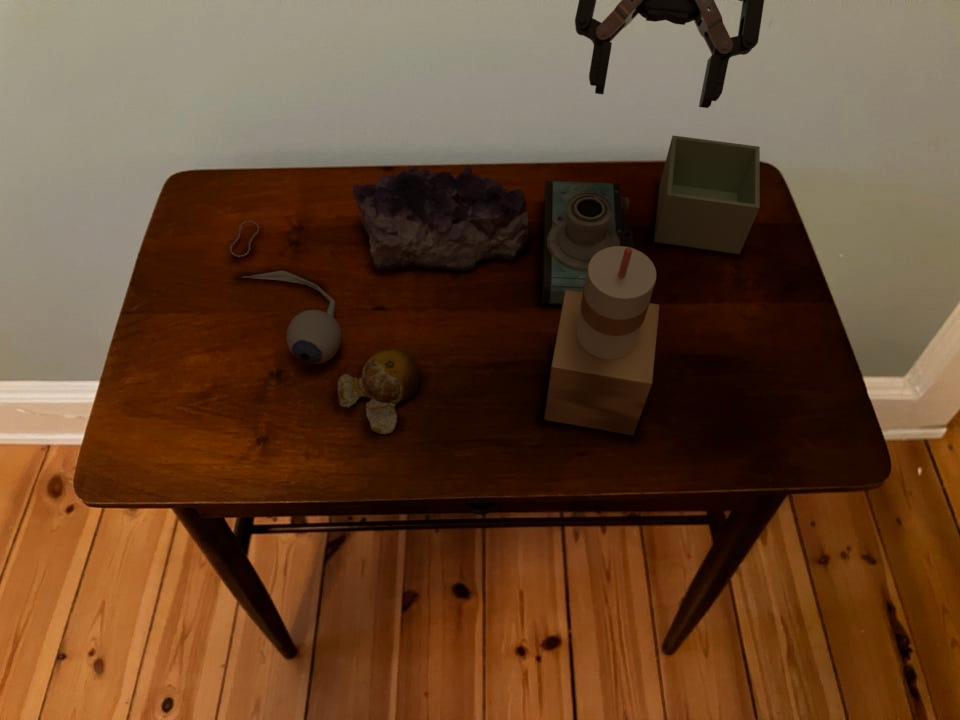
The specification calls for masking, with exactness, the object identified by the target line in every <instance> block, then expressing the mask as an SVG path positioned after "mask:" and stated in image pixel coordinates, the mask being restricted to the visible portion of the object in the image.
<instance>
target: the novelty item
mask: <svg viewBox="0 0 960 720" xmlns="http://www.w3.org/2000/svg"><path fill="white" fill-rule="evenodd" d="M241 278H242V279H256V280H269V281H270V280H271V281H281V282H285V283H286V282H287V283H294V284H301V285H304V286H307V287H309V288H312V289H314V290H315V291H318V292H319V293H320V294H321V296H323V297H324V298H325V299H327V301H328V302H329V304H328V307H327V310H326V311H323V310H319V309H306V310H303V311H301V312H300V313H298V314H296V315H295V316H294V318H293V319H292V320H291V321H290V323H289V324H288V327H287V330H286V345H287V347H288V350H289V351H290V353H291V354H292V355H293V356H294V357H295V358H296V359H298V360H299V361H301V362H304V363H307V364H311V365H318V364H323V363H327V362H329V361H330V360H332V359H333V358H334V357H335V355H336V354H337V353H338V351H339V349H340V347H341V344H342V337H343V335H342V334H343V333H342V328H341V326H340V323H339V321H337V319H336V318H335V310H336V300H335V299H334V298H333V297H331V296H330V294H328V293H327V292H326V291H324V290H323V289H322V288H321V287H320V286H319V285H318V284H316V283H314V282H312V281H309V280H307V279H306V278H302V277H301V276H298V275H296V274H293V273H291V272H288V271H286V270H277V271H276V270H275V271H271V272H265V273H259V274H252V275H245V276H242V277H241Z"/></svg>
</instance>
